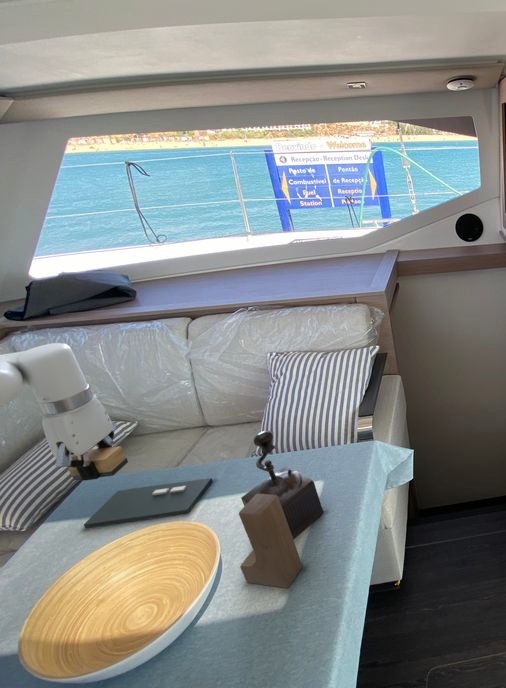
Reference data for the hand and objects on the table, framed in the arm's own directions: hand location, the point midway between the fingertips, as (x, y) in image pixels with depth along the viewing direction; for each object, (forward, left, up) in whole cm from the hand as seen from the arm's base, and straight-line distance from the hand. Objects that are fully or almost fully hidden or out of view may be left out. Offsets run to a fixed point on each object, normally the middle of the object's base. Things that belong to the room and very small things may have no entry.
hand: (101, 469), depth 93 cm
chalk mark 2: (+11, -5, -11) cm, 16 cm away
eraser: (0, 0, 0) cm, 0 cm away
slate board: (+6, -3, -12) cm, 13 cm away
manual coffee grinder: (+28, -31, -12) cm, 43 cm away
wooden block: (+23, -45, -12) cm, 52 cm away
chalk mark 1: (+8, -2, -11) cm, 13 cm away
